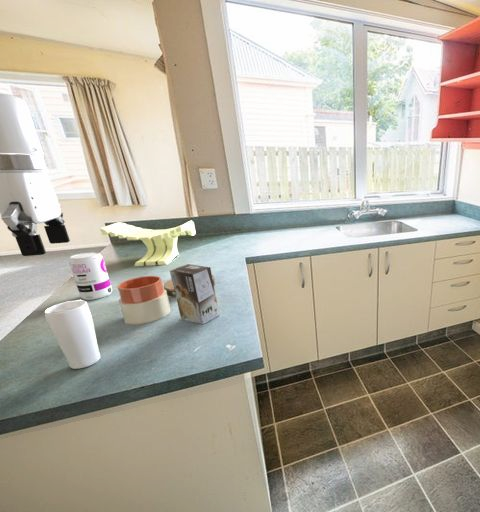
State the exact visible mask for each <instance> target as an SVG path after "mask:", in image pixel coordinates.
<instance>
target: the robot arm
mask: <svg viewBox="0 0 480 512" xmlns="http://www.w3.org/2000/svg"><path fill="white" fill-rule="evenodd" d="M43 151H44V150H43V148H42V145H41V141H40V139H39V136H38V133H37V130H36V127H35V123H34V121H33V117H32V115H31V112H30V109H29V105H28V104H27V102H26V101H25V100H24V99H23V98H20V97H19V96H16V95H14V94H13V95H12V94H8V93H1V92H0V217H1V220H2V221H3V223H4V224H5V225H6V226H7V230H8V231H9V232H11V236H12V237H13V238H15V241H16V243H17V247H18V248H19V251H20V253H21V256H23V257H31V256H33V257H34V256H43V255H45V254H46V253H47V251H46V248H45V245H44V243H43V240H42V237H41V234H37V230H38V225H39V224H43V223H44V224H45V225H44V226H43V229H44V231H45V233H46V236H47V239H48V242H49V244H52V245H53V244H68V243H69V242H70V241H71V239H70V236H69V234H68V231H67V228H66V225H65V224H66V221H65V219H64V218H63V217H64V212H62V204H61V203H60V202H59V199H58V196H57V194H56V192H55V189H54V186H53V184H52V182H51V179H50V178H49V175H48V174H47V173H50V169H49V166H48V164H47V160H46V157H45V154H44V152H43ZM27 226H28V227H27Z"/></svg>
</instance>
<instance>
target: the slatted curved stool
mask: <svg viewBox="0 0 480 512" xmlns="http://www.w3.org/2000/svg"><path fill="white" fill-rule="evenodd" d="M100 232H101V235H102V236H105V235H106V236H107V235H109V236H110V238H111V237H118V239H126V240H127V241H137V240H140V241H142V243H143V244H144V245H145V247H146V249H147V251H146V253H145V254H144V256H143V257H141V258H140V259H138V260H137V261H136V262H134V263H135V264H134V267H144V266H146V267H147V266H157V265H158V266H165V265H169V264H170V263H171V262H173V261H174V260H175V259H176V258H175V257H176V256H177V255H179V256H180V254H179V250H178V237H180V236H187V235H188V236H191V237H193V236H195V235H196V234H197V232H196V226H195V222H194V221H193V220H189V221H187V222H185V223H183V224H181V225H178V226H176V227H171V228H166V229H165V228H164V229H150V228H142V227H138V226H135V225H132V224H127V223H125V222H119V221H118V222H115V223H111V224H109V225H106V226H103V227H100ZM174 258H175V259H174ZM173 259H174V260H173ZM172 260H173V261H172Z"/></svg>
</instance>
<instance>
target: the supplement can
mask: <svg viewBox="0 0 480 512" xmlns="http://www.w3.org/2000/svg"><path fill="white" fill-rule="evenodd" d="M68 264H69V266H70V271H71V273H72V276H73V279H74V283H75V285H76V287H77V290H78V294H79V296H80V298H81V299H82V300H84V301H91V300H92V301H93V300H98V299H102V298H105V297H107V296H109V295H111V294H112V292H113V288H112V284H111V280H110V277H109V273H108V270H107V267H106V263H105V260H104V256H102V254H100V252H97V251H89V252H81V253H77V254H74V255H73V254H72V255H71V256H70V257H69V261H68Z"/></svg>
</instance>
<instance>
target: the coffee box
mask: <svg viewBox="0 0 480 512" xmlns="http://www.w3.org/2000/svg"><path fill="white" fill-rule="evenodd" d="M169 273H170V279H172V282H173V287H174V291H175V295H176V297H175V299H176V303H177V307H178V311H179V315H180V320H182V321H186V322H191V323H196V324H201V325H204V324H205V325H206V324H207V323H209V322H210V321H211V320H213V319H215V318H217V317H219V316H220V312H219V305H218V301H217V295H216V290H215V286H214V284H213V279H212V275H213V274H212V267H211V266H203V265H198V264H190V263H187V264H184V265H181V266H179V267H176V268H174V269H171V270H169Z"/></svg>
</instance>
